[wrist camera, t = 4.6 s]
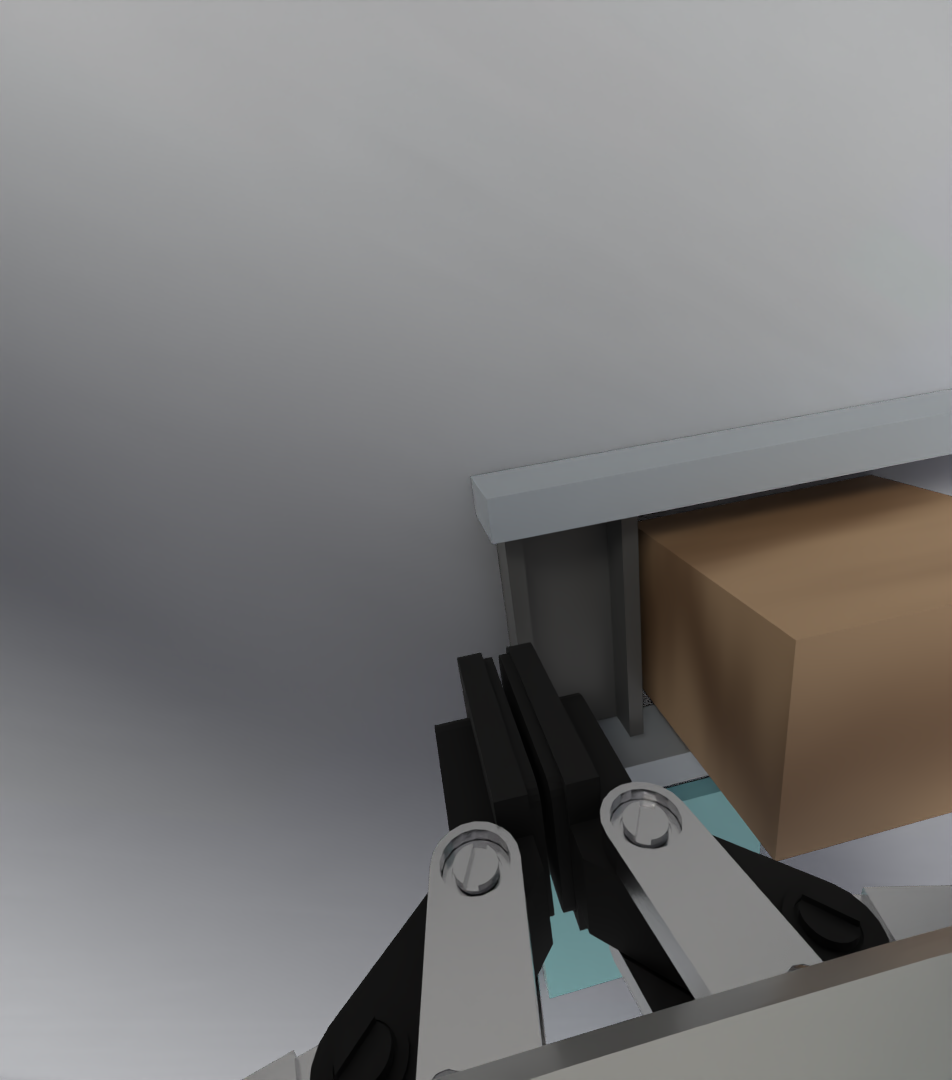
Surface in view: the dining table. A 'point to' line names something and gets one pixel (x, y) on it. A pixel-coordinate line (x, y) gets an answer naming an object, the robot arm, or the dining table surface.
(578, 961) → the pad
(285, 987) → the dining table surface
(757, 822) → the walnut block
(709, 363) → the dining table surface
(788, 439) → the grey twin-rail rack
